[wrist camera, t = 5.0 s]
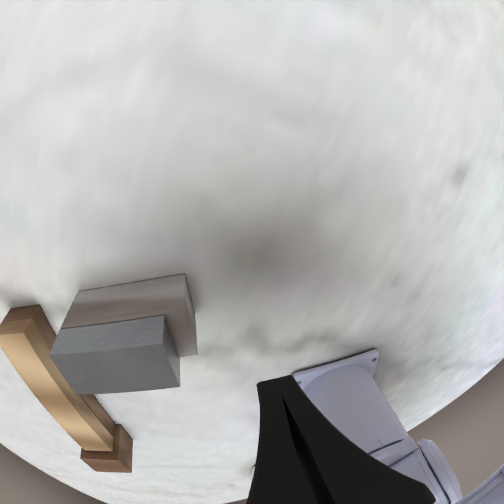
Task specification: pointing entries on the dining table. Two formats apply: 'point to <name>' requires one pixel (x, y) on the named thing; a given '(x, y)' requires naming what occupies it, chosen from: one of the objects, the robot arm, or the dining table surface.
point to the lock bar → (118, 357)
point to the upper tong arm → (51, 385)
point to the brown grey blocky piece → (118, 310)
